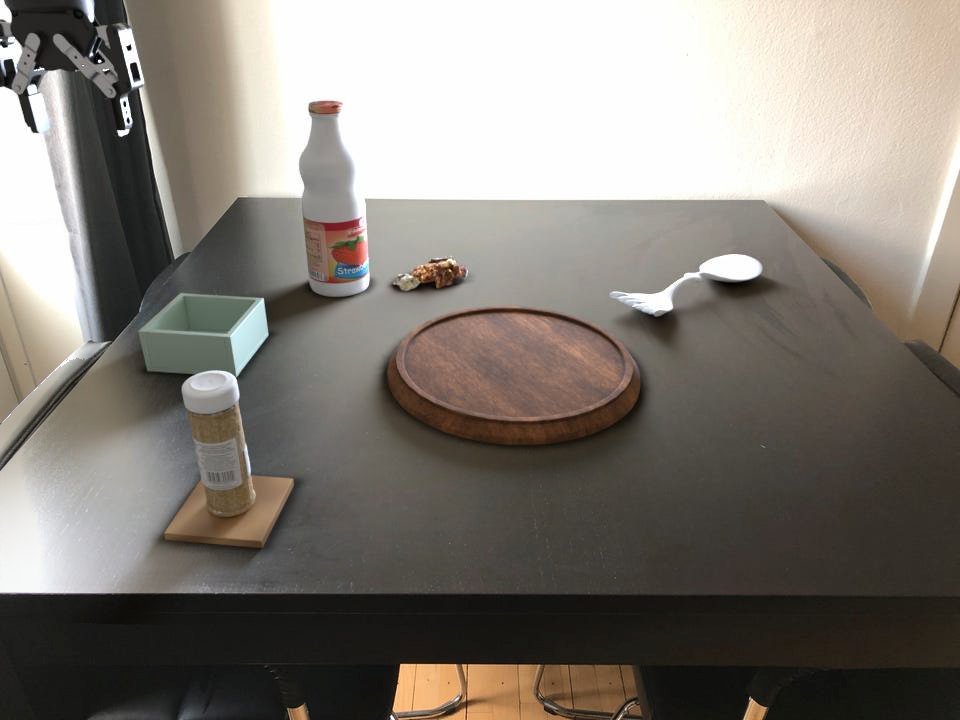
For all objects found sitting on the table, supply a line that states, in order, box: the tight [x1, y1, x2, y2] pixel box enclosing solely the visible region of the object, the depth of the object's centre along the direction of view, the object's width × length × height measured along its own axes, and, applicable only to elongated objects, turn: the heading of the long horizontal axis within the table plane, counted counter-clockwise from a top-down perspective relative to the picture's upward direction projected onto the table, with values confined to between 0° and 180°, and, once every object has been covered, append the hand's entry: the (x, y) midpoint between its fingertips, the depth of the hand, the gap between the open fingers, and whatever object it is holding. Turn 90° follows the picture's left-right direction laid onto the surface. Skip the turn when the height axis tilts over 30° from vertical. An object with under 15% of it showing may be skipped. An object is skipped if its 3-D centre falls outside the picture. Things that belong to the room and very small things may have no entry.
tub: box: [137, 292, 269, 378], centre depth 96 cm, size 12×12×6 cm
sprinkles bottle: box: [181, 371, 256, 517], centre depth 67 cm, size 5×5×13 cm
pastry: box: [393, 255, 469, 292], centre depth 119 cm, size 7×12×4 cm, turn 128°
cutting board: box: [386, 305, 642, 446], centre depth 94 cm, size 32×32×3 cm
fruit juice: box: [298, 99, 370, 298], centre depth 111 cm, size 9×9×28 cm
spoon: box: [609, 254, 763, 318], centre depth 117 cm, size 9×32×4 cm, turn 131°
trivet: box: [163, 474, 295, 549], centre depth 70 cm, size 9×9×1 cm
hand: (81, 133), depth 76 cm, fingers open, 8 cm apart
